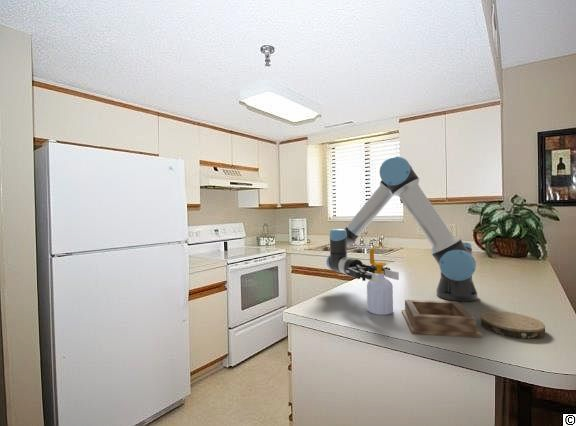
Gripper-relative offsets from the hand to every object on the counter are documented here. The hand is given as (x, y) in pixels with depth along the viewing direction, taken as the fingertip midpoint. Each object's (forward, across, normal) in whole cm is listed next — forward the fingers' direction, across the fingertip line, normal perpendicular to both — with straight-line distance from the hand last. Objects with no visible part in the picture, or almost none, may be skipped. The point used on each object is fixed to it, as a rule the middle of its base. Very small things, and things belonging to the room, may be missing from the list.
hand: (388, 277), depth 107 cm
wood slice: (+26, -25, -14) cm, 39 cm away
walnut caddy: (+13, -8, -14) cm, 21 cm away
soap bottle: (-5, 0, -14) cm, 15 cm away
